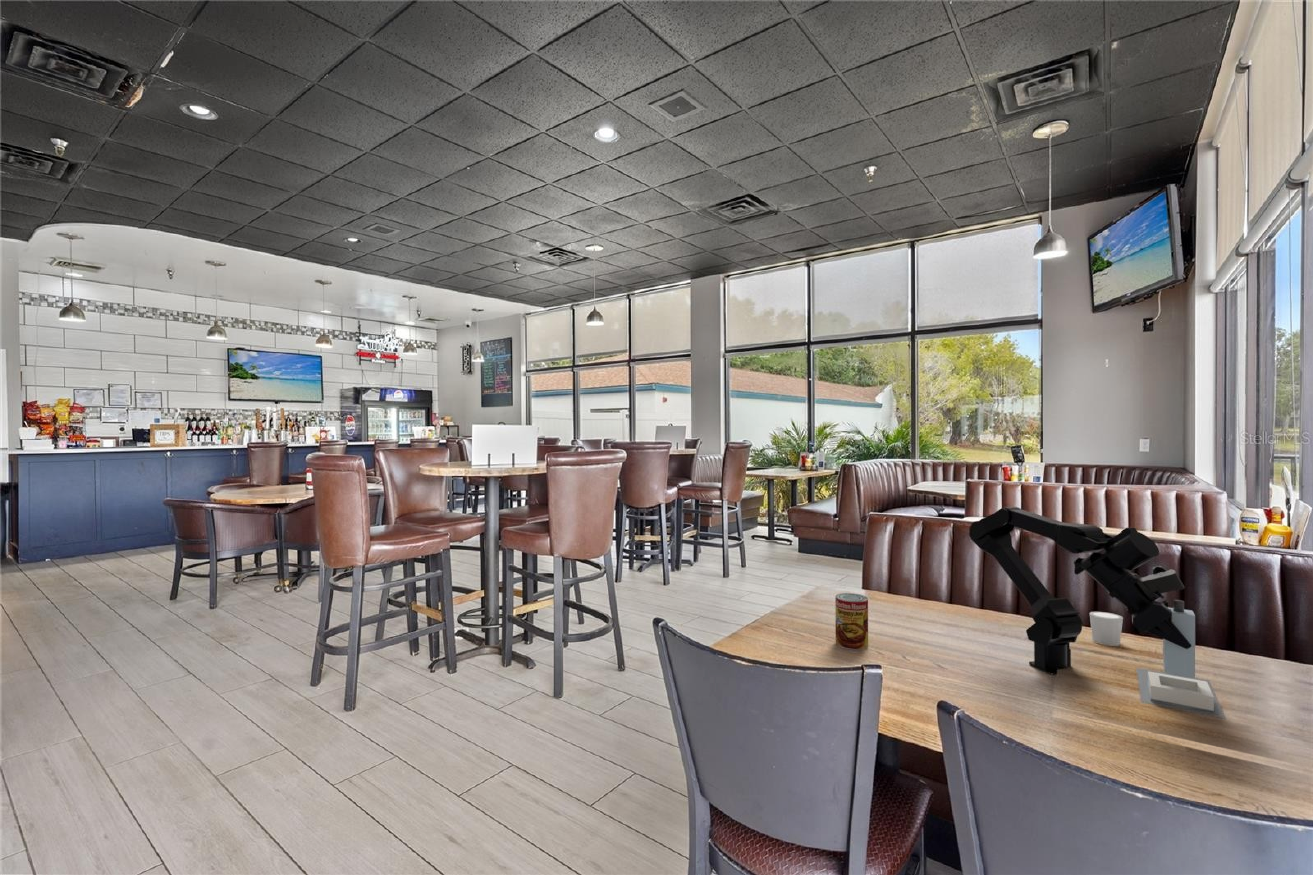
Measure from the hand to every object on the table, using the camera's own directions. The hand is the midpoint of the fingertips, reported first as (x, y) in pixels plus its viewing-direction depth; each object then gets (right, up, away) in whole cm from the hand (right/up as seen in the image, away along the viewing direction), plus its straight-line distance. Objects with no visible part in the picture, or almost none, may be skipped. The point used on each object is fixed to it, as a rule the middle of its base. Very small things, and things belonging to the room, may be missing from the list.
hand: (1187, 644), depth 117 cm
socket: (-1, -11, +1) cm, 11 cm away
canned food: (-54, -12, +35) cm, 65 cm away
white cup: (+12, -12, +37) cm, 41 cm away
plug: (-1, -6, +1) cm, 6 cm away
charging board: (+2, -12, +5) cm, 13 cm away
